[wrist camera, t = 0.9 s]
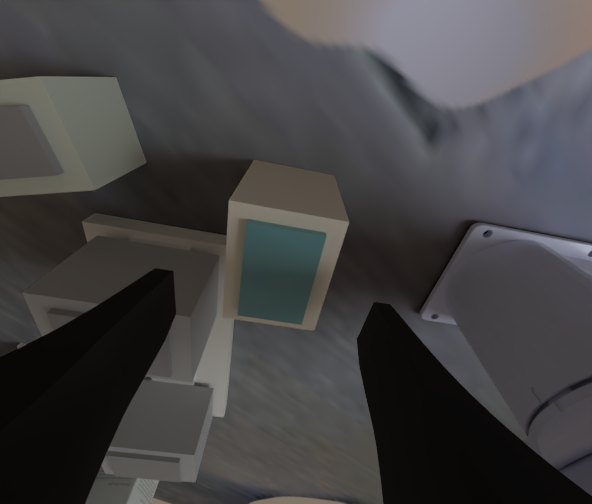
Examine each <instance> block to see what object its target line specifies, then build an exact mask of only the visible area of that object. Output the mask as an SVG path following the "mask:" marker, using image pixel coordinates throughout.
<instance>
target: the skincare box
mask: <svg viewBox="0 0 592 504" xmlns="http://www.w3.org/2000/svg"><path fill="white" fill-rule="evenodd" d="M158 482H159V480H150V479H140V478H129V477H119V476H114V474H105V472H104V470H103V468H102V466H101V467H100V470H99V472H98V474H97V477H96V479H95V481H94V484H93V486H92V488H91V491H90V493H89V495H88V498H87V500H86V503H85V504H151V502H152V499H153V496H154V493H155V491H156V488H157V485H158Z"/></svg>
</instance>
